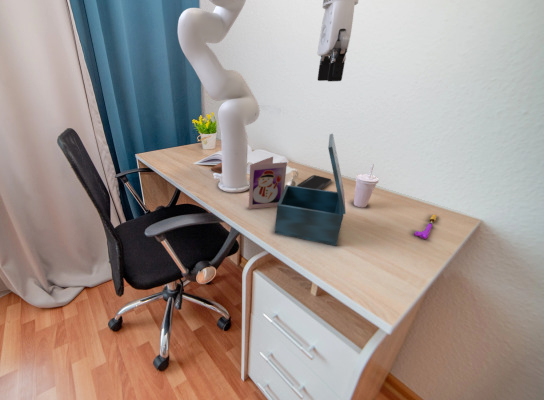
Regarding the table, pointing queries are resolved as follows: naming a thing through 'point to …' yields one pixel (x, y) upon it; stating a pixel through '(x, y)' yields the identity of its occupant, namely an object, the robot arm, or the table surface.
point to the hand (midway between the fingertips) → (328, 80)
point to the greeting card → (266, 183)
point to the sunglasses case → (217, 168)
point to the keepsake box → (309, 214)
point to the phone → (315, 182)
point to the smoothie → (364, 188)
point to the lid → (336, 173)
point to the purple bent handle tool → (425, 233)
